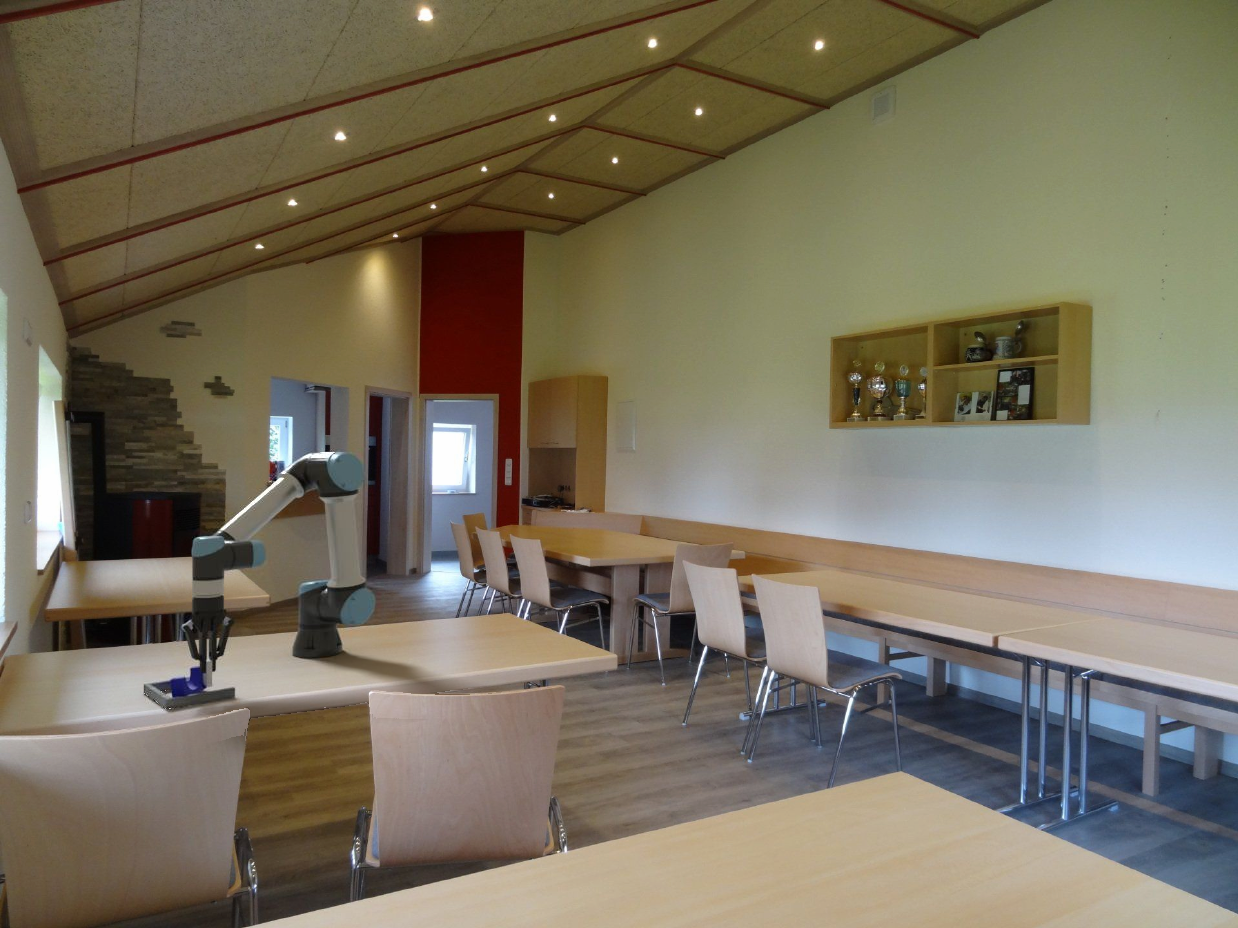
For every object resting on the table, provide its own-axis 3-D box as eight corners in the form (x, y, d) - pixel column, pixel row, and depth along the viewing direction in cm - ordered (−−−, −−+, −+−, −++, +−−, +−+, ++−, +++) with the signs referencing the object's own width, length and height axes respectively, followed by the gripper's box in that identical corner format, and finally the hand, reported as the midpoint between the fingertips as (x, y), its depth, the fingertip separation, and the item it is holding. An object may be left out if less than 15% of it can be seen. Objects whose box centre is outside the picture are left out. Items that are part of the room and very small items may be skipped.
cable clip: (189, 689, 218) (187, 667, 218) (206, 687, 218) (204, 665, 218) (166, 703, 206) (164, 680, 206) (184, 701, 206) (182, 678, 206)
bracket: (208, 682, 225) (208, 673, 225) (234, 697, 211) (235, 687, 211) (143, 693, 214) (143, 684, 214) (166, 709, 200) (167, 699, 200)
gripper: (228, 591, 223) (227, 677, 223) (176, 596, 214) (176, 686, 214) (238, 594, 217) (238, 682, 217) (186, 599, 208) (186, 692, 208)
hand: (207, 684), depth 215 cm, fingers closed
